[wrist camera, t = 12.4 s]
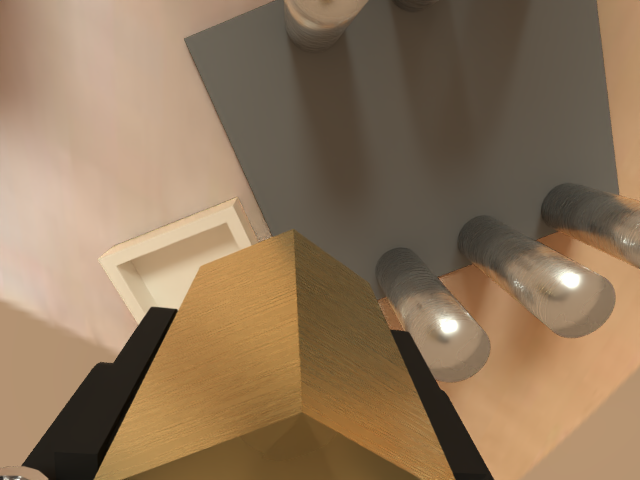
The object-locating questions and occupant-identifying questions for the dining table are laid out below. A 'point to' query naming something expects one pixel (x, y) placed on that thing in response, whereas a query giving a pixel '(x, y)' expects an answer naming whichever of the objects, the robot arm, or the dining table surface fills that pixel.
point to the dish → (175, 256)
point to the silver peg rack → (491, 244)
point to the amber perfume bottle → (277, 380)
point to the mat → (413, 121)
